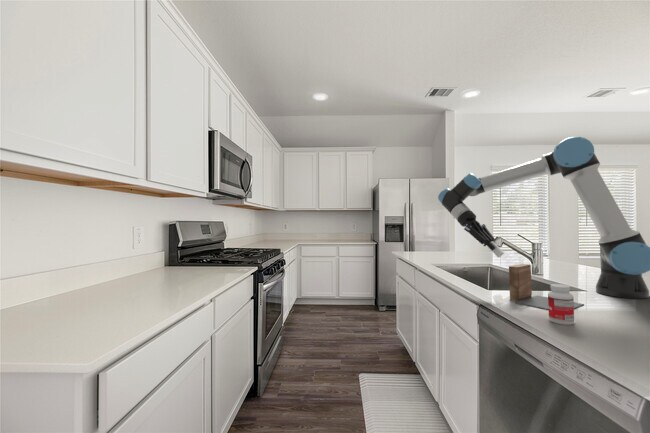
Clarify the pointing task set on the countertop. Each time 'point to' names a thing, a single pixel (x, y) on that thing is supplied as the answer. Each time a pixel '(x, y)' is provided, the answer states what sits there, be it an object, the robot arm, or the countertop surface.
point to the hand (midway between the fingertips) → (501, 255)
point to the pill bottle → (561, 304)
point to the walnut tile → (520, 282)
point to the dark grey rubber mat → (540, 302)
